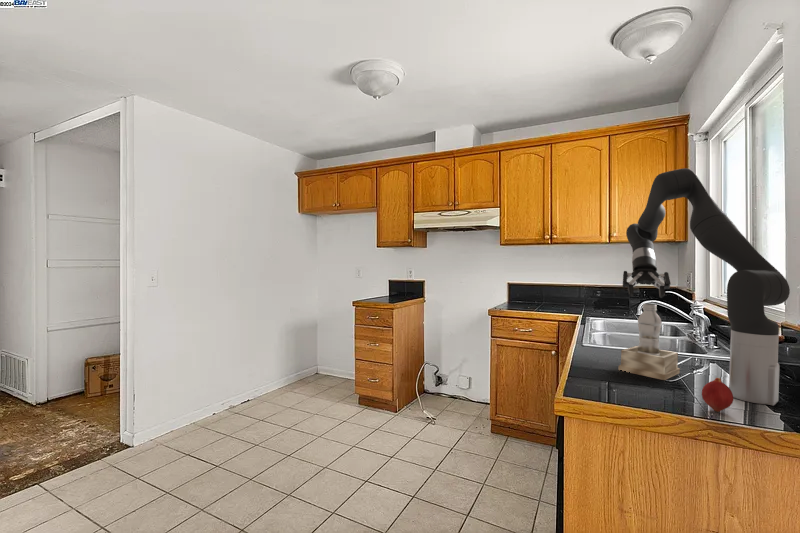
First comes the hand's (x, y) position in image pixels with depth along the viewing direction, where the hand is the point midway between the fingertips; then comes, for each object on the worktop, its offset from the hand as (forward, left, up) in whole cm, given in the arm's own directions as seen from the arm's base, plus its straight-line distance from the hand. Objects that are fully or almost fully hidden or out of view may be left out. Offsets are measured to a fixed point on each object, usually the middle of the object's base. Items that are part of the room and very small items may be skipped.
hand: (646, 295), depth 136 cm
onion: (-28, +35, -24) cm, 51 cm away
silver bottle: (-5, +10, -22) cm, 25 cm away
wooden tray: (-5, +10, -24) cm, 26 cm away
